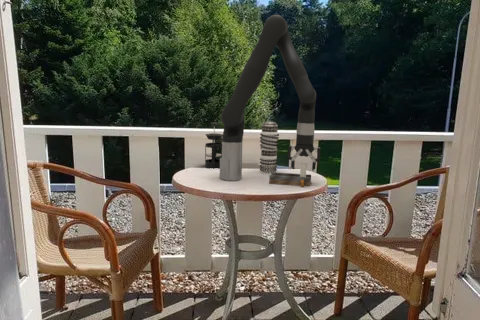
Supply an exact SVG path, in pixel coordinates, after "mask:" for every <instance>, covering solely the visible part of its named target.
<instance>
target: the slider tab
mask: <svg viewBox="0 0 480 320" xmlns="http://www.w3.org/2000/svg"><path fill="white" fill-rule="evenodd" d="M307 165H308V163H303V162H302V163H300V172H299V174H300V176H298V177H306V174H307V167H308V166H307ZM308 178H309V177H308Z"/></svg>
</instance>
